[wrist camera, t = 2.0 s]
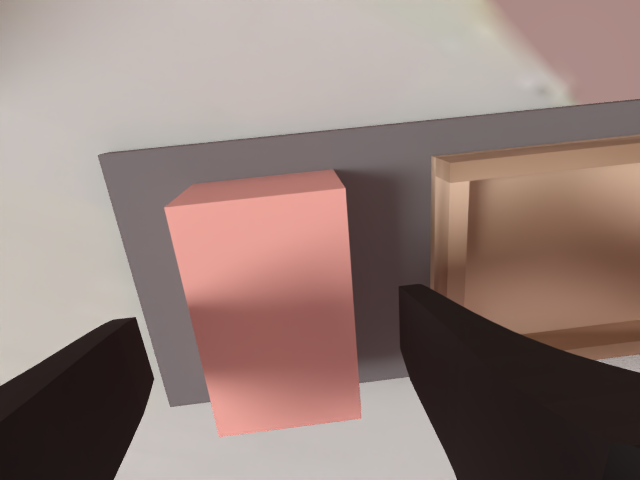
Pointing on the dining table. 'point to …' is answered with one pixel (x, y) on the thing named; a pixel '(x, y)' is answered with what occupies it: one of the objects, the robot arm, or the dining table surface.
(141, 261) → the mat
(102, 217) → the dining table surface
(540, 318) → the tray
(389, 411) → the dining table surface
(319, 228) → the card deck
